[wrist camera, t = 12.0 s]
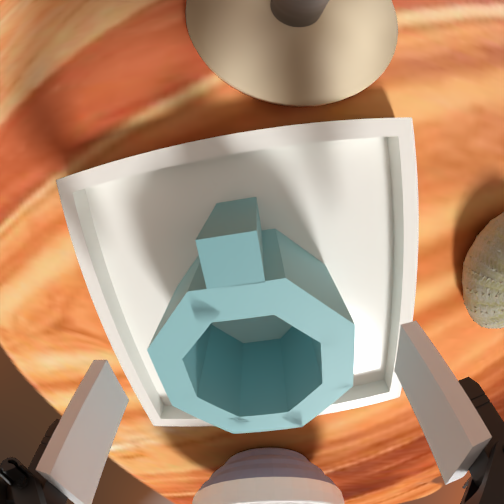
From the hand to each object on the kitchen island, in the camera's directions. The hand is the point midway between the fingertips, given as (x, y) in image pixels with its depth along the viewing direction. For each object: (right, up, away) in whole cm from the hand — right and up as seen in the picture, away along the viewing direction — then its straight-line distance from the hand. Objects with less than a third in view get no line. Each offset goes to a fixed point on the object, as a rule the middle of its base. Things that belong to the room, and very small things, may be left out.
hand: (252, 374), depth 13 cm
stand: (+2, +19, +1) cm, 19 cm away
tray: (0, +2, +7) cm, 8 cm away
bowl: (+2, -17, +15) cm, 23 cm away
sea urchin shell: (+19, +4, +7) cm, 21 cm away
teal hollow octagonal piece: (0, +2, +7) cm, 7 cm away
